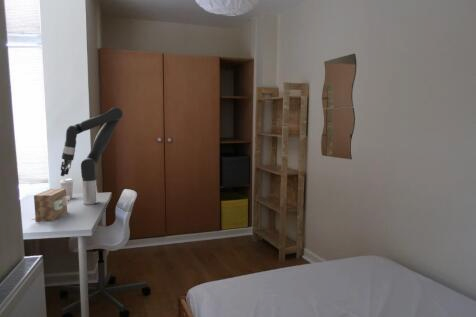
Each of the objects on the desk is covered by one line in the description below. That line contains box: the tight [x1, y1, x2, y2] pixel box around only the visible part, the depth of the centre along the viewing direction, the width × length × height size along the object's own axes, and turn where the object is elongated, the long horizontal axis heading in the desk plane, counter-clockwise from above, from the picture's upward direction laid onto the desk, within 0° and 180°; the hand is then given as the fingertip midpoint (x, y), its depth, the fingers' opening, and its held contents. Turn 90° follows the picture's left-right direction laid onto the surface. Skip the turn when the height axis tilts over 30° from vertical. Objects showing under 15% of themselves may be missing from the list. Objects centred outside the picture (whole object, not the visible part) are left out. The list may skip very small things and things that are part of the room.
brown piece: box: [33, 188, 68, 223], centre depth 211 cm, size 10×20×16 cm, turn 4°
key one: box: [61, 196, 71, 206], centre depth 216 cm, size 6×5×5 cm
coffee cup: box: [59, 178, 74, 200], centre depth 260 cm, size 10×10×15 cm
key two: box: [53, 200, 63, 210], centre depth 205 cm, size 6×5×5 cm
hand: (64, 175), depth 238 cm, fingers open, 8 cm apart
